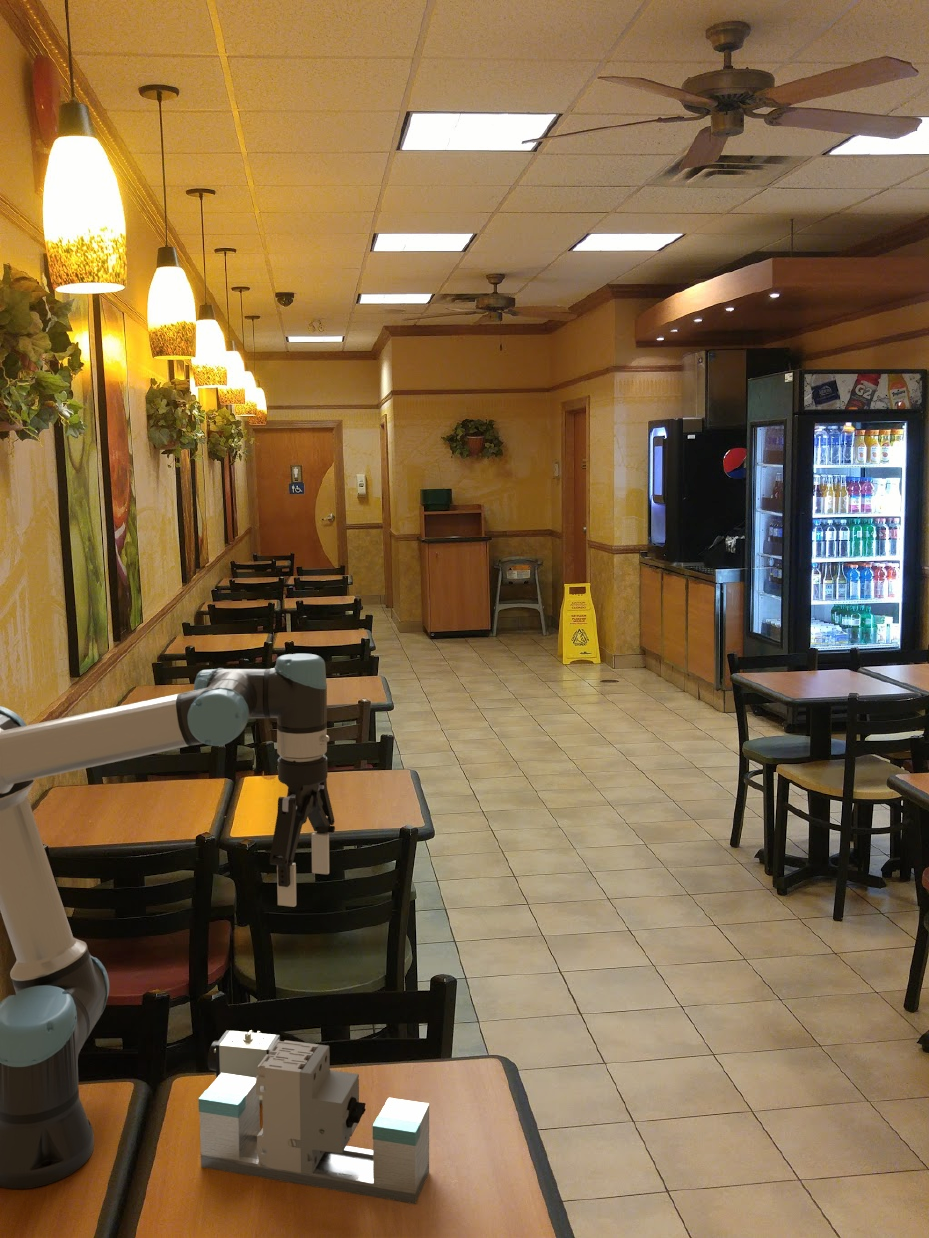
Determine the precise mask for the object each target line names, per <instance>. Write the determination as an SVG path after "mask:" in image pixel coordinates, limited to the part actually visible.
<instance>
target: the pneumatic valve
mask: <svg viewBox="0 0 929 1238" xmlns="http://www.w3.org/2000/svg"><path fill="white" fill-rule="evenodd" d="M277 1040H279V1041H281V1035H280V1034H271V1033H262V1032H261V1031H260V1030H257V1032H254V1030H252V1029H251V1030H249V1031H239V1030H227V1029H226V1031H225V1032H224V1033H223V1034H222V1036H221V1037H220V1038H219V1040H214V1041H212V1043H211V1045H210V1048H209V1050H208V1054H207V1055H208V1056H207V1067H208V1069H209V1071H215V1072H214V1076H215V1077H216V1079H217V1078H218V1076H219V1075H220V1074H221V1073H226V1074H233V1075H239V1076H246V1077H253V1078H256V1076H257V1074H258V1069H257V1066H258V1065H259V1064H260V1062H261V1061H262V1060H263V1058H264V1057H265V1056H266V1054H269V1051H270V1049H271V1048H272V1047H273V1045H274V1044H275V1043H276V1041H277ZM216 1079H215V1080H216ZM259 1103H260V1105H262V1095H259Z"/></svg>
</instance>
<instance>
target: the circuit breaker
mask: <svg viewBox="0 0 929 1238" xmlns="http://www.w3.org/2000/svg"><path fill="white" fill-rule="evenodd" d="M330 1062H331V1061H330V1045H325V1044H318V1043H317V1044H316V1043H309V1042H301V1041H293V1040H286V1039H285V1040H284V1041H281V1040H280V1041H279V1040H277V1041H276V1043H275V1044H274V1045H273V1047H272V1048H271V1049H270V1051H269V1054H266V1056H265V1057H264V1058H263V1060H262V1061H261V1062H260V1064H259V1065H258V1066H257V1069H258V1074H257V1076H256V1095H262V1104H261V1105H262V1128H260V1132H259V1134H258V1135H257V1156H258V1157H259V1162H258V1166H261V1165H266V1167H267V1168H274V1169H280V1170H287V1171H293V1172H300V1173H307V1174H312V1173H313V1172H314V1170H315V1168H316V1166H317V1165H318V1163H319V1161H320V1159H321V1157H322V1156H323V1154H324V1152H325V1151H326V1152H333V1153H340V1154H342V1153H343V1151H344V1149H345V1147H346V1146H348V1144H349V1142H350V1140H351V1137H352V1136H353V1134H354V1132H355V1130H356V1128H357V1127H358V1125H359V1123H360V1121H361V1119H362V1117H363V1115H365V1112H366V1110H367V1109H366V1102H360V1078H359V1077H360V1076H359V1073H354V1072H347V1071H346V1072H345V1071H340V1070H332V1069H330V1068H331V1067H330ZM261 1148H262V1152H261Z"/></svg>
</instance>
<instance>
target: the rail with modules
mask: <svg viewBox="0 0 929 1238" xmlns="http://www.w3.org/2000/svg"><path fill="white" fill-rule="evenodd" d="M260 1105H261V1104H260V1103H259V1095H256V1078H253V1077H246V1076H239V1075H233V1074H226V1073H221V1074H220V1075H219V1076H218V1078H217V1079H215V1080H214V1081H213V1082H212V1083H211V1084H210V1086H209V1087H208V1088H207V1089H205V1090H204V1092H203V1093H202V1094H201V1095H200V1097H198V1113H199V1135H200V1136H199V1138H200V1145H199V1146H200V1167H201V1168H202V1169H203V1168H204V1169H210V1170H215V1171H221V1172H227V1173H233V1174H238V1175H245V1176H251V1177H257V1178H262V1179H268V1180H273V1181H274V1180H275V1181H280V1182H285V1183H291V1184H292V1183H293V1184H297V1185H303V1186H308V1187H309V1186H310V1187H314V1188H319V1189H326V1190H332V1191H338V1192H343V1193H350V1194H356V1195H360V1196H366V1197H367V1196H368V1197H373V1198H379V1199H385V1200H390V1201H391V1200H392V1201H396V1202H402V1203H407V1204H414V1205H416V1203H417V1201H418V1198H419V1196H420V1194H421V1192H422V1189H423V1187H424V1185H425V1183H426V1181H427V1178H428V1175H429V1173H430V1103H429V1102H420V1101H414V1100H407V1099H402V1098H401V1099H400V1098H393V1097H388V1098H387V1100H386V1101H385V1104H384V1106H383V1107H382V1109H381V1111H380V1112H379V1114H378V1116H376V1119H375V1121H374V1122H373V1125H372V1149H368V1148H361V1147H355V1146H349V1145H346V1147H345V1149H344V1151H343V1153H342V1154H340V1153H333V1152H326V1151H325V1152H324V1154H323V1156H322V1157H321V1159H320V1161H319V1163H318V1165H317V1166H316V1168H315V1170H314V1172H313V1173H312V1174H307V1173H300V1172H293V1171H287V1170H280V1169H274V1168H267V1167H266V1165H261V1166H258V1162H259V1157H258V1156H257V1135H258V1134H259V1132H260V1131H261V1116H260V1115H261V1114H260V1113H261V1112H260V1110H261V1108H260ZM261 1152H262V1148H261Z"/></svg>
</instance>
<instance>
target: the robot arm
mask: <svg viewBox="0 0 929 1238" xmlns="http://www.w3.org/2000/svg"><path fill="white" fill-rule="evenodd" d="M275 660H276V661H275V666H274V667H273V668H272V667H271V668H224V667H218V668H214V669H213V668H211V669H202V670H200V671H198V673H196V677H195V680H194V685H193V686H194V687H193V690H189V691H185V692H182V693H175V694H170V695H166V696H165V695H164V696H161V697H156V698H152V699H146V700H141V701H136V702H132V703H127V704H123V705H119V706H113V707H108V708H103V709H99V710H95V711H89V712H85V713H81V714H75V715H71V716H67V717H65V716H64V717H60V718H55V719H52V720H47V721H43V722H42V721H41V722H38V723H33V724H28V725H27V724H26V722H25V721H24V719H23V718H22V717H21V715H18V714H17V713H16V712H15V711H13V710H11V709H9V708H7V707H5V706H1V705H0V913H1V916H2V919H3V924H4V926H5V929H6V932H7V935H8V938H9V940H10V944H11V946H12V950H13V953H14V955H15V958H16V961H15V963H14V965H13V967H12V968H11V969H10V972H9V975H10V979H11V982H12V985H13V988H14V991H15V994H13V995H12V994H9V995H8V996H5V998H3V999H2V1001H0V1187H2V1188H6V1189H14V1190H15V1189H16V1190H19V1189H23V1190H24V1189H31V1188H32V1189H33V1188H38V1187H42V1186H47V1185H50V1184H53V1183H56V1182H58V1181H60V1180H62V1179H64V1178H66V1177H68V1176H70V1175H72V1174H73V1173H75V1172H76V1171H78V1170H79V1169H80V1168H82V1167H83V1166H84V1165H85V1164H86V1163H87V1161H89V1159H90V1158H91V1156H92V1154H93V1151H94V1147H95V1146H94V1145H95V1140H94V1129H93V1126H92V1124H91V1122H90V1120H89V1118H88V1116H87V1114H86V1111H85V1109H84V1105H83V1103H82V1101H81V1097H80V1090H79V1089H80V1087H79V1066H78V1065H79V1064H78V1059H79V1054H80V1052H81V1049H82V1048H83V1046H84V1044H85V1042H86V1041H87V1040H88V1038H89V1036H90V1034H91V1033H92V1031H93V1030H94V1028H95V1025H96V1024H97V1023H98V1021H99V1019H100V1018H101V1016H102V1014H103V1012H104V1010H105V1008H106V1005H107V1002H108V997H109V993H110V980H109V974H108V973H107V970H106V968H105V966H104V964H103V963H102V961H100V959H98V958H97V957H94V956H92V955H91V953H90V952H89V949H88V945H87V942H85V941H83V940H80V939H78V938H76V937H74V936H73V933H72V932H73V931H72V930H71V926H70V923H69V921H68V918H67V917H68V916H67V914H66V911H65V908H64V905H63V902H62V898H61V895H60V892H59V890H58V886H57V884H56V881H55V877H54V875H53V871H52V868H51V865H50V861H49V858H48V856H47V852H46V848H45V846H44V843H43V839H42V838H41V834H40V829H39V828H38V825H37V821H36V818H35V816H34V812H33V809H32V806H31V803H30V800H29V793H30V792H31V789H32V788H33V787H34V784H35V780H37V779H42V778H46V777H51V776H56V775H60V774H65V773H69V772H74V771H78V770H79V771H80V770H83V769H88V768H93V767H98V766H103V765H106V764H111V763H115V762H116V763H117V762H121V761H125V760H131V759H135V758H139V757H144V756H149V755H153V754H157V753H162V752H163V753H164V752H166V751H172V750H176V749H181V748H185V747H189V746H196V745H202V744H205V745H206V746H214V747H219V746H223V745H227V744H229V743H231V742H232V741H233V740H235V739H236V738H238V737H239V736H240V735H241V733H242V732H243V731H244V730H245V728H246V726H247V725H248V721H249V720H250V719H276V722H277V723H276V724H277V725H276V739H277V740H276V742H277V743H276V746H277V747H276V748H277V749H276V750H277V751H276V753H277V755H279V757H278V759H277V778H278V781H279V782H280V783H281V784H283V785H286V787H287V794H286V797H285V796H279V797H278V800H277V814H276V820H275V825H274V826H275V827H274V831H273V838H272V843H271V850H270V855H269V865H272V866H273V865H274V866H276V881H277V882H276V883H277V885H276V887H277V889H276V891H277V896H276V897H277V906H284V907H291V908H292V907H293V908H294V907H296V906H297V866H296V865H297V864H296V862H294V859H295V855H296V852H297V848H298V844H299V839H300V836H301V832H302V828H303V825H304V824H306V823H307V821H309V822H310V825H311V827H312V829H313V831H314V832H313V833H311V873H312V874H320V875H329V874H330V834H334V833H335V830H336V827H335V825H334V824H335V817H334V811H333V807H332V803H331V800H330V799H331V798H330V794H329V790H328V782H327V781H328V779H327V778H328V777H329V776H328V757H327V756H326V753H327V752H328V751H327V750H328V742H330V736H329V735H327V733H328V732H327V728H328V725H327V723H328V721H327V720H328V717H327V716H328V714H327V713H328V710H327V709H328V706H327V705H328V704H327V703H328V697H327V696H328V683H327V675H326V674H327V673H326V672H327V671H326V662H325V660H324V658H322V657H321V656H320V655H317V654H312V653H293V654H292V653H288V654H282V655H280V656H278V657H277V658H276V659H275Z"/></svg>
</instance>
